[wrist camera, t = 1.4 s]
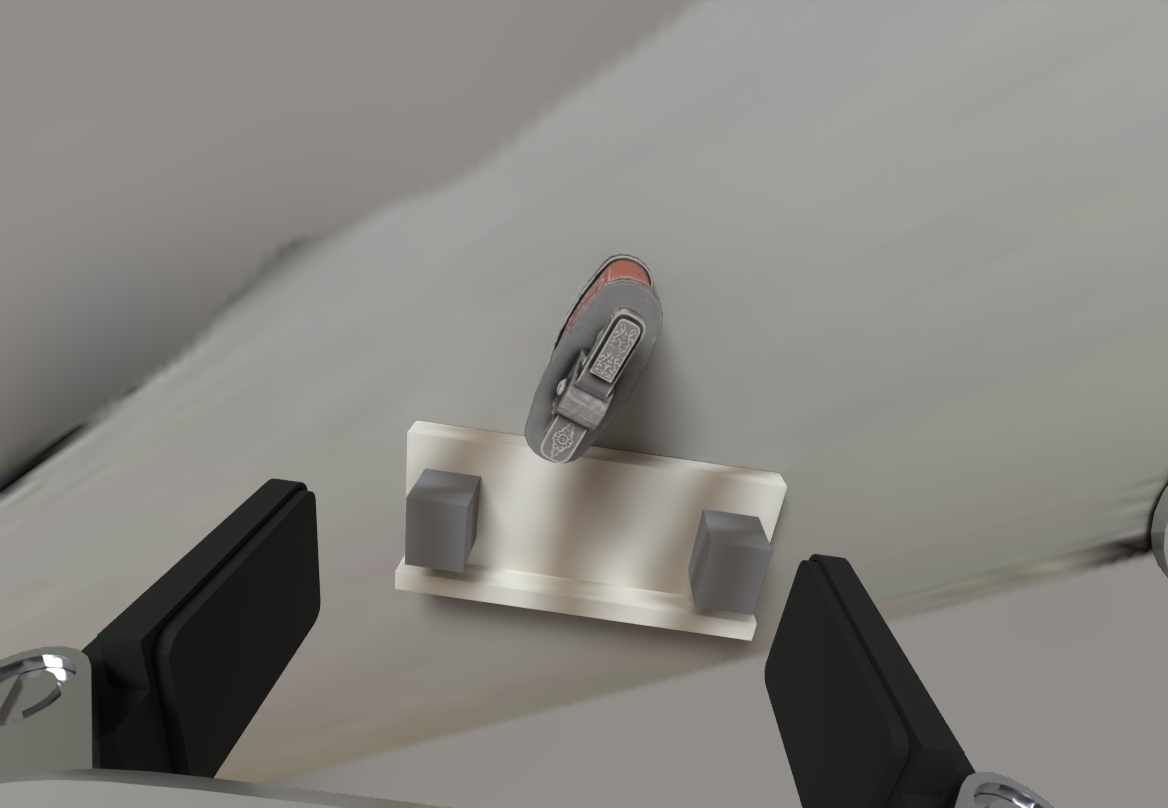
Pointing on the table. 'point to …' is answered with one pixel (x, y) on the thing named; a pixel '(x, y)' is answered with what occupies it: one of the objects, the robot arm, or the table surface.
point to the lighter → (595, 360)
